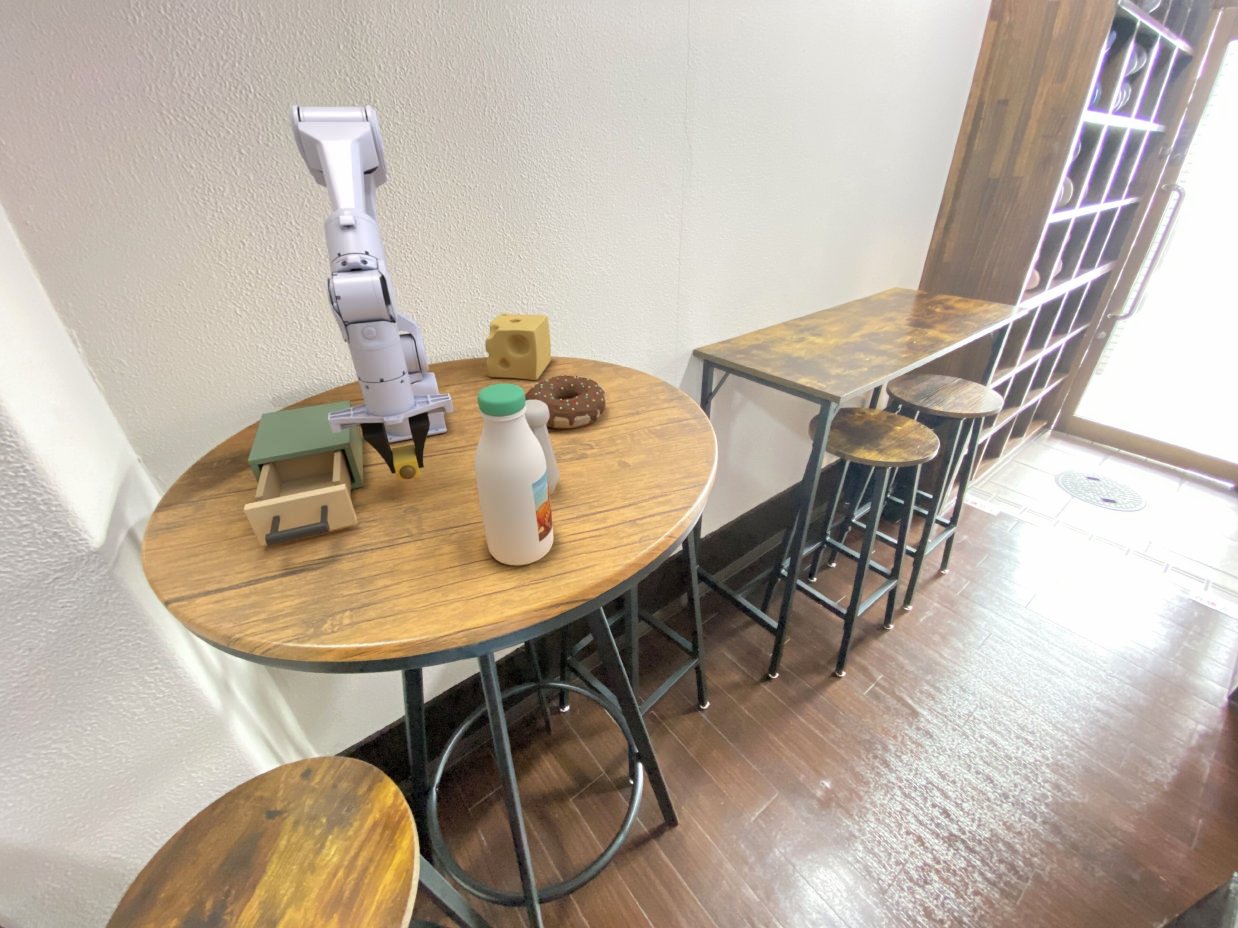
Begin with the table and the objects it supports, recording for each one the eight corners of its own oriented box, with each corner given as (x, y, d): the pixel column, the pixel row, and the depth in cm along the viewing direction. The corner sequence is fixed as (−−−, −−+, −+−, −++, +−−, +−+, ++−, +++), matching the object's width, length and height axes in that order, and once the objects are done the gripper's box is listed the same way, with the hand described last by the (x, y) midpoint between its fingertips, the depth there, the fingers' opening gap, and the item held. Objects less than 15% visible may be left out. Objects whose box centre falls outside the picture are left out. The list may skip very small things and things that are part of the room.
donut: (606, 396, 97) (605, 370, 95) (606, 433, 86) (606, 405, 83) (527, 397, 97) (525, 371, 94) (517, 434, 85) (514, 406, 83)
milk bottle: (525, 577, 59) (503, 416, 48) (474, 552, 62) (443, 397, 51) (567, 537, 64) (555, 385, 53) (518, 516, 68) (498, 370, 57)
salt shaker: (553, 505, 70) (545, 417, 63) (512, 500, 71) (499, 413, 64) (565, 480, 75) (560, 396, 68) (527, 475, 76) (517, 392, 68)
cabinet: (363, 486, 73) (349, 442, 70) (268, 506, 70) (247, 460, 66) (362, 440, 84) (349, 399, 80) (279, 455, 80) (262, 413, 76)
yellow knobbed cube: (416, 456, 75) (412, 440, 73) (421, 480, 70) (417, 463, 68) (395, 460, 74) (391, 444, 72) (398, 485, 69) (393, 468, 67)
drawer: (357, 547, 62) (344, 511, 59) (254, 572, 58) (235, 535, 55) (356, 471, 75) (346, 439, 72) (273, 488, 72) (258, 454, 69)
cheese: (487, 378, 104) (480, 328, 99) (506, 357, 113) (500, 310, 108) (539, 381, 103) (534, 331, 97) (554, 360, 112) (550, 313, 106)
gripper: (314, 396, 59) (348, 495, 67) (448, 376, 64) (466, 470, 71) (318, 373, 65) (349, 466, 72) (441, 356, 69) (458, 445, 77)
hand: (407, 466), depth 72 cm, fingers closed on yellow knobbed cube, 3 cm apart
